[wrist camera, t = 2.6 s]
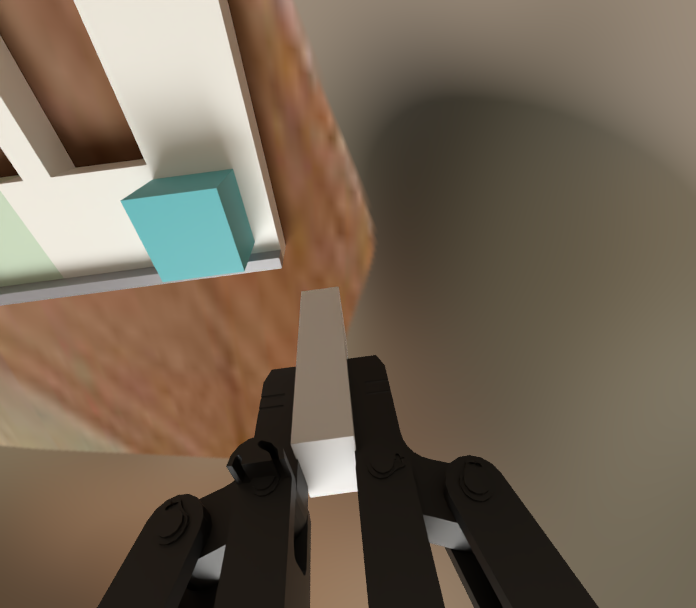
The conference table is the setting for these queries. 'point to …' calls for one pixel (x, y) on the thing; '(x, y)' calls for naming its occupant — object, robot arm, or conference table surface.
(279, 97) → the conference table surface
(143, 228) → the teal block
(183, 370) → the conference table surface
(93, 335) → the conference table surface
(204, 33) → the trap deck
